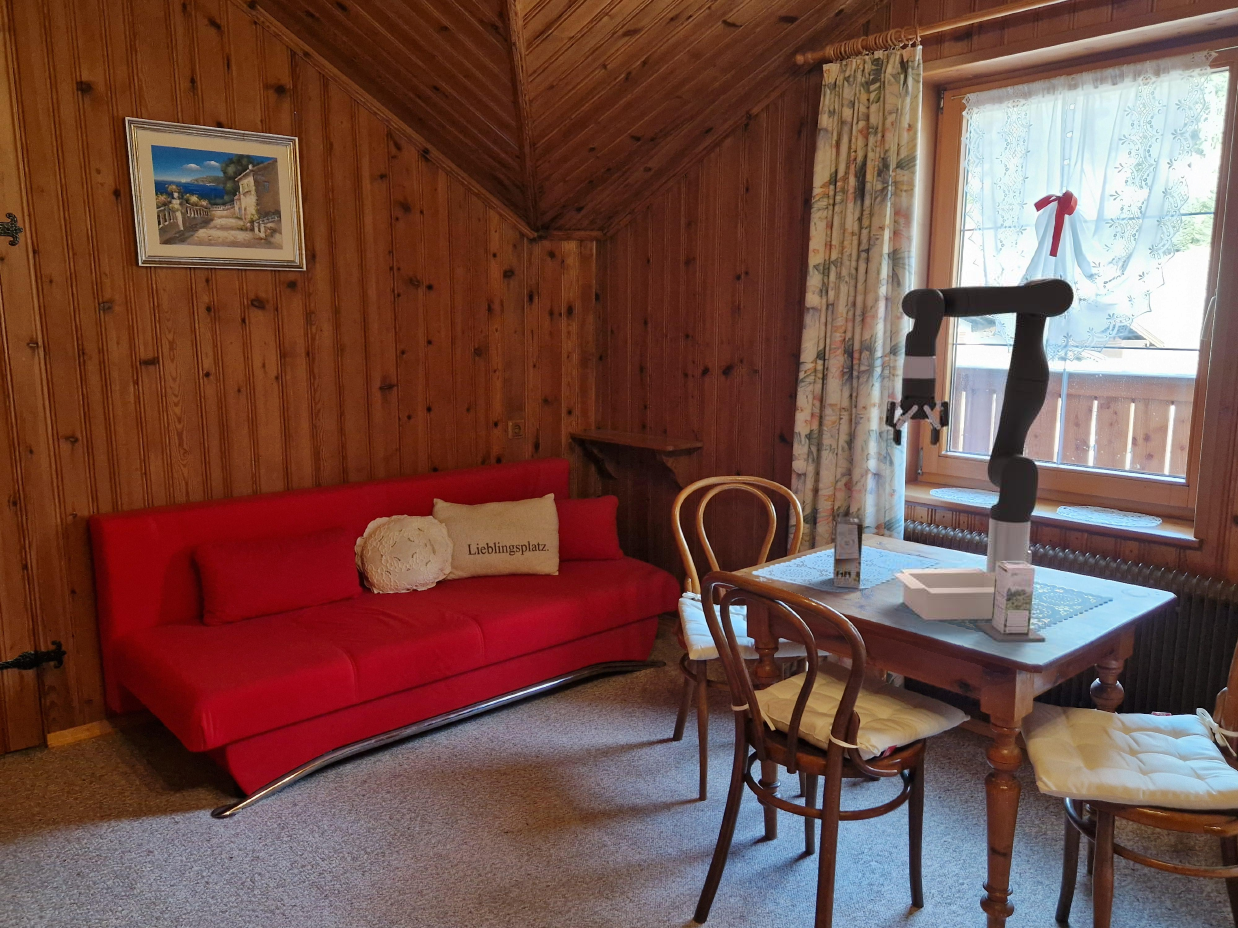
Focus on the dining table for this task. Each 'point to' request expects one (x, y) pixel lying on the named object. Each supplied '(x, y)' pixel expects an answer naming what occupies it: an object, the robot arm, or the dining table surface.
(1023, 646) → the dining table surface
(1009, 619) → the syrup box
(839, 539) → the coffee box
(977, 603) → the carton
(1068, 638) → the dining table surface
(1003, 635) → the coaster
